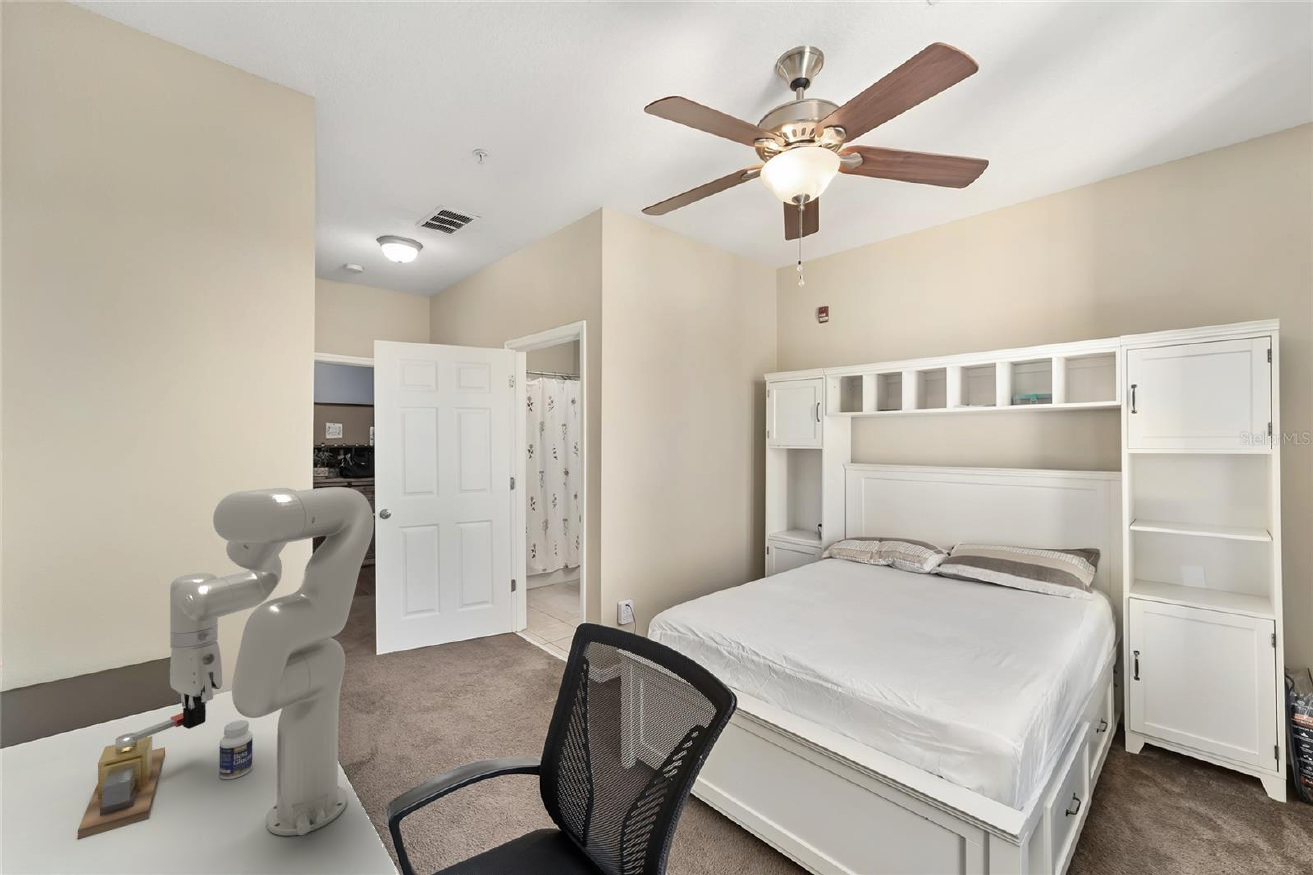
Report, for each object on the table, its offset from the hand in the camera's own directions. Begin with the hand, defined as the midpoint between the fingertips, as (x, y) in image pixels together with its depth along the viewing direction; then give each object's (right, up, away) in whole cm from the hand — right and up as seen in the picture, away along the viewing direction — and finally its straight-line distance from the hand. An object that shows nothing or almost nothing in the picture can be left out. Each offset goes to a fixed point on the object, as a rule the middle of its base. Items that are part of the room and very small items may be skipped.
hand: (194, 724), depth 116 cm
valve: (-7, -8, -7) cm, 13 cm away
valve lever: (-5, -1, -2) cm, 5 cm away
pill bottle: (+9, -10, -1) cm, 13 cm away
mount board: (-7, -9, -7) cm, 14 cm away
